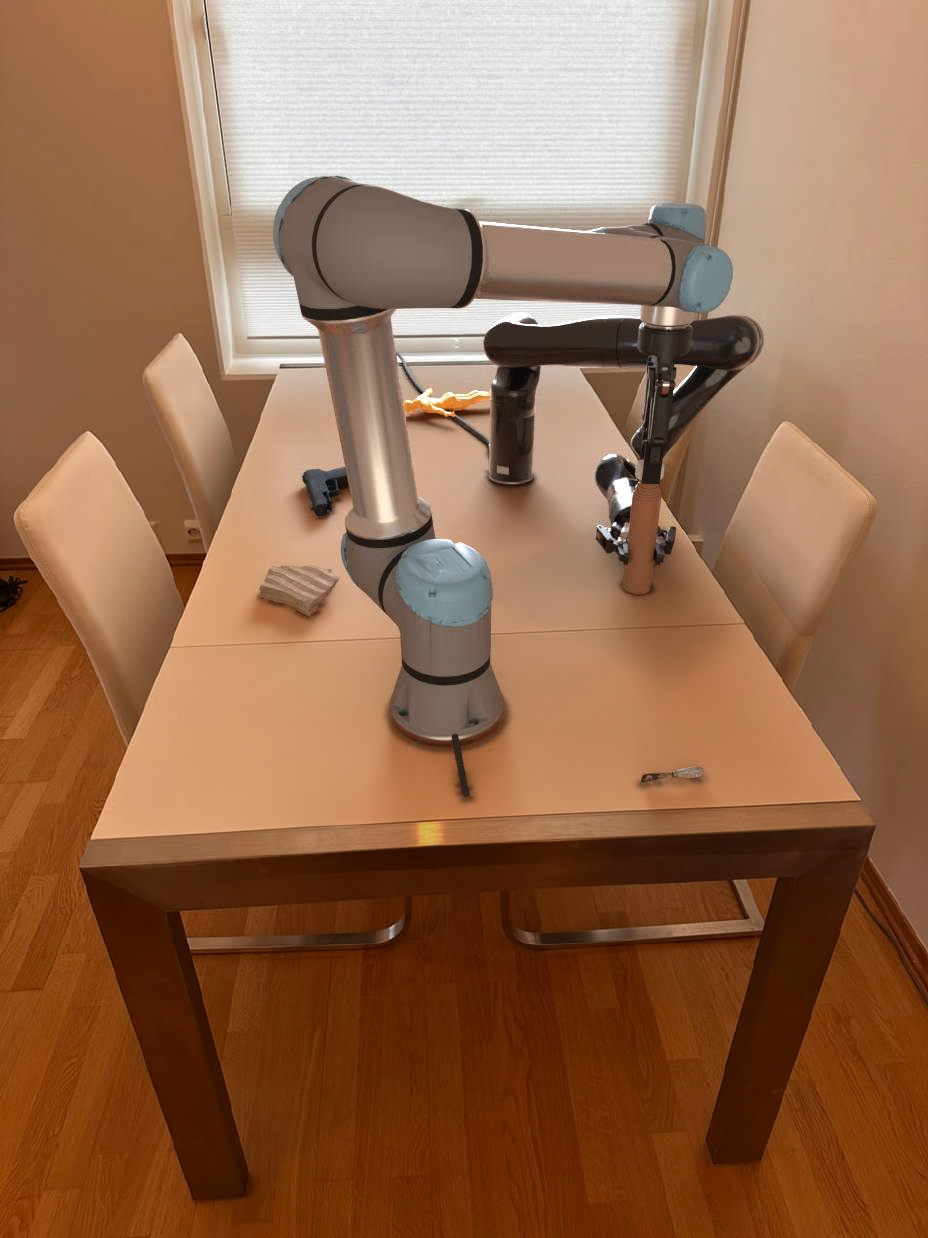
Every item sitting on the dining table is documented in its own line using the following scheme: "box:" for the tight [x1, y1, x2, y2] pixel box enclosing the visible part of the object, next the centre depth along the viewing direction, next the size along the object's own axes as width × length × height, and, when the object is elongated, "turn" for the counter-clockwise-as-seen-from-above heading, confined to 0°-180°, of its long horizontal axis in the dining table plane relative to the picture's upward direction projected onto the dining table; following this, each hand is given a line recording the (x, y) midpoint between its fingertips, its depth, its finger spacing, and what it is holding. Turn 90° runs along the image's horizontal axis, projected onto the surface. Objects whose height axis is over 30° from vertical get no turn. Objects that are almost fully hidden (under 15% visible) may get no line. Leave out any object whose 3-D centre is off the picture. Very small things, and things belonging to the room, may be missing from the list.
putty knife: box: [640, 765, 705, 784], centre depth 109 cm, size 1×8×2 cm, turn 103°
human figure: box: [403, 385, 490, 418], centre depth 225 cm, size 20×20×4 cm
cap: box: [635, 459, 665, 481], centre depth 138 cm, size 4×4×2 cm
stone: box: [258, 564, 339, 617], centre depth 147 cm, size 13×12×3 cm
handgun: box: [301, 466, 350, 518], centre depth 180 cm, size 3×18×12 cm
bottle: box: [622, 479, 662, 595], centre depth 144 cm, size 4×4×21 cm
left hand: (649, 476), depth 139 cm, fingers closed on cap, 4 cm apart
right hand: (642, 560), depth 144 cm, fingers closed on bottle, 4 cm apart
